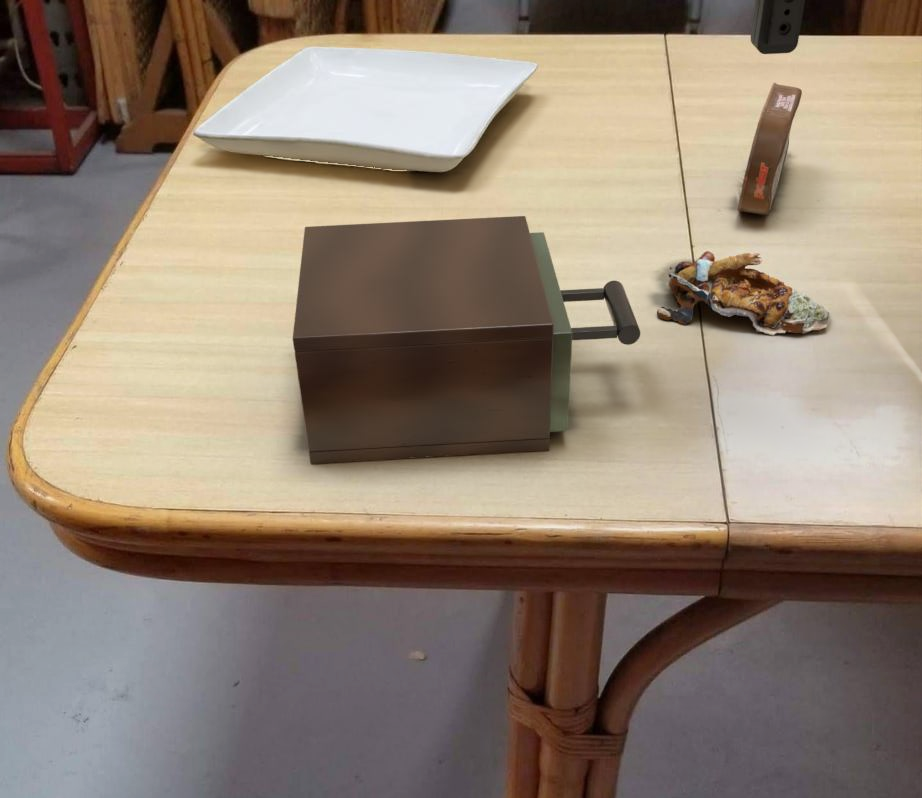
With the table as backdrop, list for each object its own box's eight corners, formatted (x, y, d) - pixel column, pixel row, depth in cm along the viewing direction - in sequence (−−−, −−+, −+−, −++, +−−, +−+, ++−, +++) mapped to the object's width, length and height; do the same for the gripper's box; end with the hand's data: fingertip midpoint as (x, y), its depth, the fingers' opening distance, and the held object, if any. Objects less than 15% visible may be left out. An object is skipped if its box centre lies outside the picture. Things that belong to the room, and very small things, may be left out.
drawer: (609, 319, 77) (616, 228, 72) (646, 427, 66) (656, 328, 62) (351, 333, 76) (341, 241, 71) (348, 443, 66) (336, 345, 61)
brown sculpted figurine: (823, 344, 75) (834, 297, 73) (654, 320, 78) (658, 275, 76) (831, 298, 80) (841, 253, 78) (671, 277, 83) (676, 234, 81)
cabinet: (523, 331, 77) (525, 215, 72) (549, 450, 66) (553, 324, 61) (319, 342, 77) (304, 226, 71) (310, 464, 66) (292, 338, 60)
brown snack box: (756, 162, 100) (771, 68, 95) (790, 166, 99) (808, 71, 94) (731, 228, 90) (747, 126, 84) (770, 233, 89) (788, 130, 83)
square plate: (309, 77, 122) (304, 41, 120) (540, 96, 116) (541, 58, 113) (194, 165, 103) (186, 124, 100) (464, 194, 96) (464, 151, 94)
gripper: (984, -369, 42) (883, 85, 54) (868, -370, 52) (803, 13, 64) (798, -362, 42) (735, 92, 54) (716, -365, 52) (678, 19, 64)
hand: (772, 48), depth 59 cm, fingers closed
